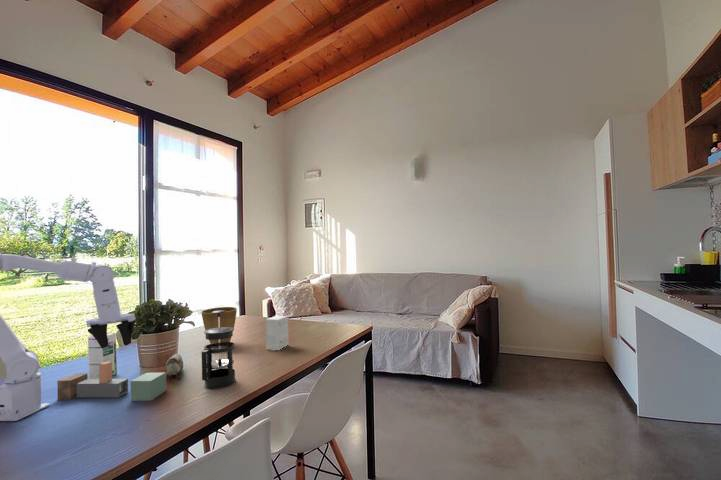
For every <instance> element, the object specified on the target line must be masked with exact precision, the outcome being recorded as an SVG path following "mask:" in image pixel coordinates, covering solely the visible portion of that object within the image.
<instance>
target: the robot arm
mask: <svg viewBox="0 0 721 480" xmlns="http://www.w3.org/2000/svg"><path fill="white" fill-rule="evenodd" d="M1 269H2V271H3V272H7V271H12V270H17V269H21V270H29V271H36V272H37V271H38V272H45V273H53V274H56V275H57V277H58V278H59V279H61V280H69V281H74V282H75V281H76V282H83V283H87V282H89V281H90V282H91V284H92V288H93V291H92V292H93V293H92V295H93V298H94V302H95V308H96V312H97V318H91V319H89V320H86V321H85V322H86V327H87V328H88V329H87V332H88V333H89V334H90V335H91V336H94V338H95V339H96V340H97V342H98V343H99V345H100V347H101V349H103V348H105V347H107V346H108V338H107V333H108V325H110V324H116V325H115V326H116V328H117V329H118V331H119V333H120V336H121V339H122V344H123V345H124V346H125V347H127V346H128V345H130V344H132V334H133V329H134V326H135V324H136V321H137V320H136V315H135V313H123V312H122V311H121V308H120V302H119V297H118V294H117V289H116V286H115V281H114V279H115V277H116V276H115V272H114V270H113V268H111V267H110V266H108V265H105V264H104V265H103V264H97V262H95V261H94V262H93V261H92V262H86V261H79V260H78V259H77V258H74V257H71V258H70V259H68V258H66V259H64V260H61V261H59V262H58V261H57V262H56V261H51V260H46V259H41V258H36V257H29V256H24V255H18V254H7V253H6V254H5V253H0V270H1ZM117 323H118V324H117ZM0 359H1V361H2V362H3V364H4V366H5V367H6V370H5V371H6V376H7V377H6V378H5V379H4V383H3V384H2V385H1V386H0V422H17V421H19V420H21V419H23V418H25V417H28V416H30V415H33V414H34V413H36V412H39V411H40V410H43V409H45V408H47V407H49V406H51V403H43V402H42V373H41V372H39V370H40V363H39V356H38V354H37V353H35V352H34V351H32V350H30V349H28V348H27V347H26V346H25V344H23V342H22V341H21V340H20V339H19V337H18V336H17V335H16V333H15V332H14V331H13V329H12V328H11V326H10V325H9V324H8V323H7V321H6V320H5V318H4V317H3V315H2V314H1V313H0Z"/></svg>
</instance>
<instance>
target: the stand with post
mask: <svg viewBox="0 0 721 480" xmlns="http://www.w3.org/2000/svg"><path fill="white" fill-rule="evenodd" d="M122 383H123V391H121V392H120V389H119V385H120V384H122ZM76 390H77V397H76V398H108V399H109V398H111V399H112V398H120V397H122V396H123V395H125V394H128V393H129V378H113V375H112V362H103V363H101V364H99V379H89V378H88V379H86V380H84V381H82V382H79V383H77V384H76Z"/></svg>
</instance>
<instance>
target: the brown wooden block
mask: <svg viewBox="0 0 721 480" xmlns="http://www.w3.org/2000/svg"><path fill="white" fill-rule="evenodd" d="M86 379H89V377H88V373H85V372H84V373H82V372H81V373H72V374H71V375H68V376H65V377H64V378H61V379H58V380H57V382H56V384H57V400H59V401H60V400H61V401H62V400H63V401H65V400H67V401H68V400H69V401H70V400H72V399H74V398H78V397H77V394H76V384H77V383H79V382H82V381H84V380H86Z"/></svg>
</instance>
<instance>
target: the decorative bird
mask: <svg viewBox="0 0 721 480" xmlns="http://www.w3.org/2000/svg"><path fill="white" fill-rule="evenodd" d="M164 368H165V371H166V382H169V381H170V382H172V380H171V378H170V377H169V374H170V375H171V376H175V375H176V376H175V377H174V379H173V381H174V380H177V381H178V379H179V380H181V377H180V376H179V372H181V371H183V369H184V361H183V357H182V355H181V354H179V353H174V354H173V355H172V356H170V357H169V359H167V360H166V362H165V367H164Z"/></svg>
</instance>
